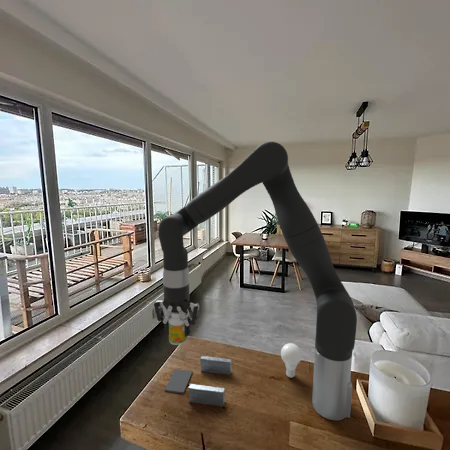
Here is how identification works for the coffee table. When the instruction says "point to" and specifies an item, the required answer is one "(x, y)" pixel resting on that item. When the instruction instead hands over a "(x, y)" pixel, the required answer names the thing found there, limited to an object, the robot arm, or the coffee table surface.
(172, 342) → the supplement bottle
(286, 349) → the lightbulb
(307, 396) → the coffee table surface
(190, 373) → the gray rectangular block
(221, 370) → the grey bricks
